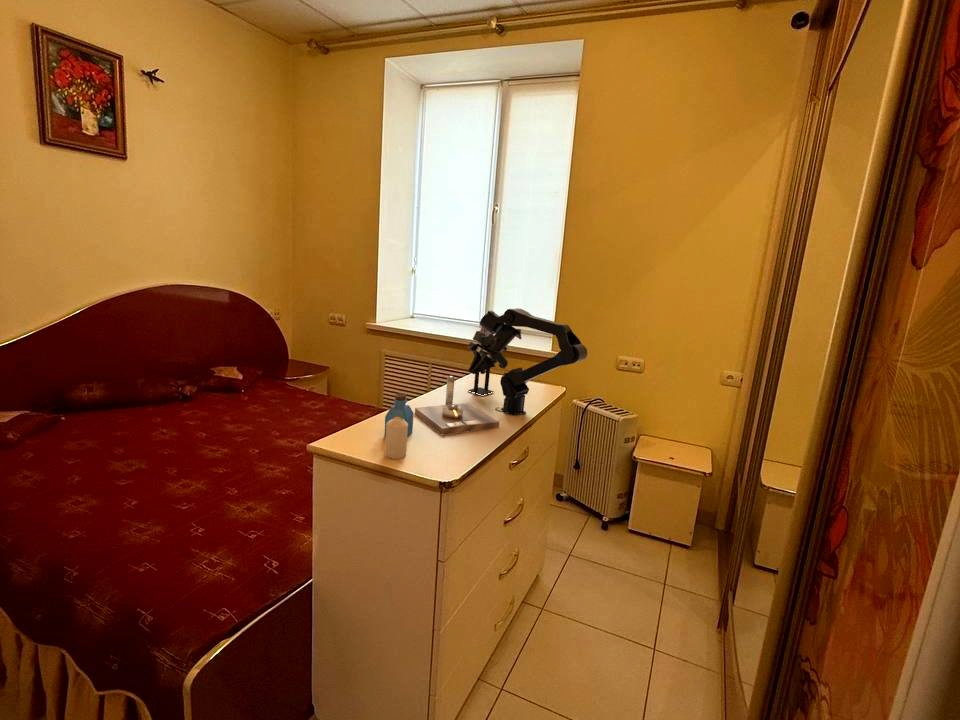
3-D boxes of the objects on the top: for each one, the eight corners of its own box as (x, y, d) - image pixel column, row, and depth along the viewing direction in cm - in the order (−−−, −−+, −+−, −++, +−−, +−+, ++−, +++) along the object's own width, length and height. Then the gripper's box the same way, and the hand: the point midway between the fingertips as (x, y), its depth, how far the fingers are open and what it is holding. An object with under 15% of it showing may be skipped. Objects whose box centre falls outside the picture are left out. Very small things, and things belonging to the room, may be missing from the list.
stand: (467, 408, 172) (468, 401, 172) (498, 427, 156) (499, 420, 155) (414, 413, 162) (415, 406, 162) (441, 434, 146) (442, 426, 145)
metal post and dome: (457, 405, 167) (460, 375, 165) (466, 423, 150) (469, 390, 147) (438, 404, 166) (441, 374, 164) (445, 423, 148) (447, 390, 146)
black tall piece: (479, 397, 187) (487, 318, 181) (465, 392, 192) (471, 315, 185) (496, 392, 195) (503, 317, 189) (481, 388, 200) (488, 314, 193)
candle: (385, 450, 131) (387, 414, 129) (406, 451, 132) (408, 415, 130) (383, 458, 126) (385, 421, 124) (405, 459, 126) (407, 422, 124)
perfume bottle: (405, 440, 139) (407, 399, 137) (384, 437, 140) (386, 396, 138) (412, 433, 145) (414, 393, 143) (392, 429, 146) (394, 390, 144)
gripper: (474, 319, 174) (444, 350, 170) (503, 328, 158) (471, 363, 155) (491, 340, 180) (462, 371, 176) (521, 351, 164) (490, 385, 161)
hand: (470, 372), depth 167 cm, fingers closed
